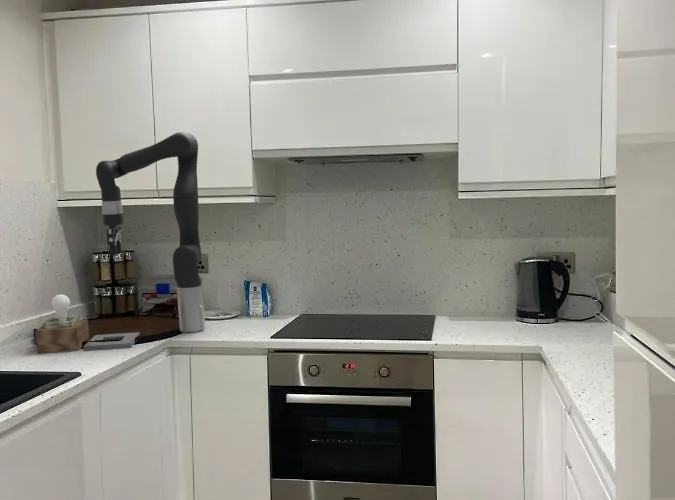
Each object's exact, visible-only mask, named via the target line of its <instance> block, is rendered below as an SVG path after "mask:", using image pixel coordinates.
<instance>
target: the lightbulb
mask: <svg viewBox="0 0 675 500" xmlns="http://www.w3.org/2000/svg"><path fill="white" fill-rule="evenodd" d="M70 305H71V300H70V298H69V297H68V296H67V295H66V294H57V295H55V296H54V297H53V298H52V300H51V307H52V309H53V310H54V312H55V313H56V317H58V320H59V322H64V321H66V317H67V316H68V310H69V309H70Z"/></svg>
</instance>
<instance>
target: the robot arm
mask: <svg viewBox="0 0 675 500" xmlns="http://www.w3.org/2000/svg"><path fill="white" fill-rule="evenodd" d="M198 153H199V142H198V140H197V138H196V137H195V135H194V134H192V133H188V132H183V131H182V132H181V131H179V132H175V133H174V134H171V135H169V136H168V137H166V138H164V139H162V140H161V141H158V142H156V143H154V144H152V145H150V146H147V147H144V148H140V149H137V150H134V151H131V152H128V153H126V154H123V155H121V156H120V157H119V158H117V159H113V160H101V161H99V162H98V164H97V165H96V168H95V176H96V179H97V182H98V186H99V188H100V192H101V213H102V224H103V226H107V227H108V228H107V229H106V241H107V246H109V255H110V257H112V256H113V257H115V256H117V254H121V253H122V242H123V234H122V233H123V232H122V226H121V225H124V223H125V221H124V210H123V209H124V208H123V203H122V196H121V188H120V187H119V186H118V185H117V184H116V181H115V179H119V178H121V177H124V176H125V175H128V174H129V173H133V172H134V173H135V172H137V171H140V170H142V169H145V168H147V167H149V166H151V165H153V164H154V163H157V162H159V161H161V160H165V159H171V158H177V165H178V168H177V169H178V170H177V176H176V179H175V183H174V188H173V193H172V196H173V211H174V217H175V219H176V222H177V223H176V224H177V226H178V230H179V246H178V247H177V248H176V249H175V250H174V252H173V255H172V267H173V275H174V279H175V282H176V291H177V305H178V306H177V307H178V319H179V331H180V332H182V333H196V332H200V331H201V332H202V331H205V328H206V323H205V322H206V320H205V306H204V303H203V289H202V278H201V277H200V274H199V268H198V266H199V263H200V262H201V259H202V248H201V243H200V235H199V234H200V233H199V222H200V220H199V207H200V206H199V189H198V188H199V187H198V186H199V185H198V169H197V168H198V157H199V156H198Z"/></svg>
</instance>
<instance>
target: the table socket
mask: <svg viewBox="0 0 675 500" xmlns="http://www.w3.org/2000/svg"><path fill="white" fill-rule="evenodd" d="M139 335H140V331H138V332H124V333H123V332H122V333H107V334H95V335H93V337H92V338H91V339H89V341H95V340H103V339H115V338H123V339H122V340H119V341H105V342H89V341H88V342H87V343H86V344H85V345H84V346H83V352H84V351H86V352H87V351H100V350H101V351H102V350H112V349H113V350H114V349H115V350H117V349H129V348H132V347H133V345H134V344H135V343H136V342H135V338H136V337H138V336H139Z"/></svg>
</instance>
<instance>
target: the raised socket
mask: <svg viewBox="0 0 675 500" xmlns="http://www.w3.org/2000/svg"><path fill="white" fill-rule="evenodd" d="M34 333H35V334H34V336H35V342H36V343H35V344H36V345H35V346H36V353H37V354H47V353H48V354H49V353H61V352H76V351H80V350H81V349H82V348H83V347H82V342H83V341H85V340H87V339H89V340H90V331H89V320H88V319H81V316H80V315H70V316H68V315H67V317H66V321H64V322H59V320H58V317H57V316H54V317H51V318H49V319H46V321H44V322H43V323H42V326H40V327H39V328H37V329H36V330H34Z"/></svg>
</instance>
